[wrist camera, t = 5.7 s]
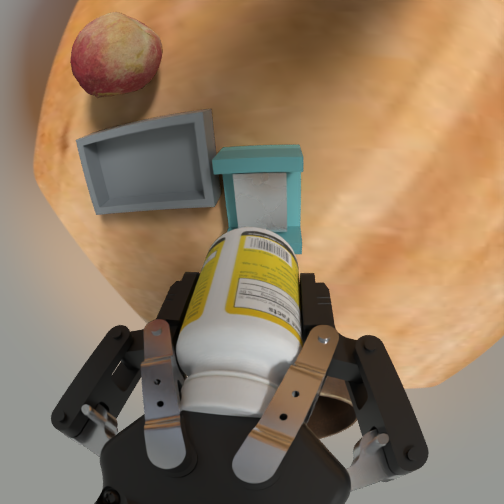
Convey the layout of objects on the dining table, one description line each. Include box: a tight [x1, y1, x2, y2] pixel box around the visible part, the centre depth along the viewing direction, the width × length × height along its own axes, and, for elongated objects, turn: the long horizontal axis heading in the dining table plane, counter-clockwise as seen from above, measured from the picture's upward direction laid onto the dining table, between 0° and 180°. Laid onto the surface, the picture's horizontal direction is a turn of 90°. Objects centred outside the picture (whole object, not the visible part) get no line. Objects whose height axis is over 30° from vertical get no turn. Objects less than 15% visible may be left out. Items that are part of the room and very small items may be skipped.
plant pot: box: [307, 376, 357, 439], centre depth 28 cm, size 15×15×16 cm
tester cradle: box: [212, 145, 303, 254], centre depth 24 cm, size 9×7×4 cm
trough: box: [76, 109, 221, 215], centre depth 24 cm, size 9×14×3 cm, turn 94°
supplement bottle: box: [176, 227, 303, 418], centre depth 12 cm, size 5×5×10 cm
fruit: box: [71, 12, 163, 98], centre depth 16 cm, size 8×8×8 cm
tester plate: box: [233, 172, 287, 232], centre depth 24 cm, size 6×4×1 cm
